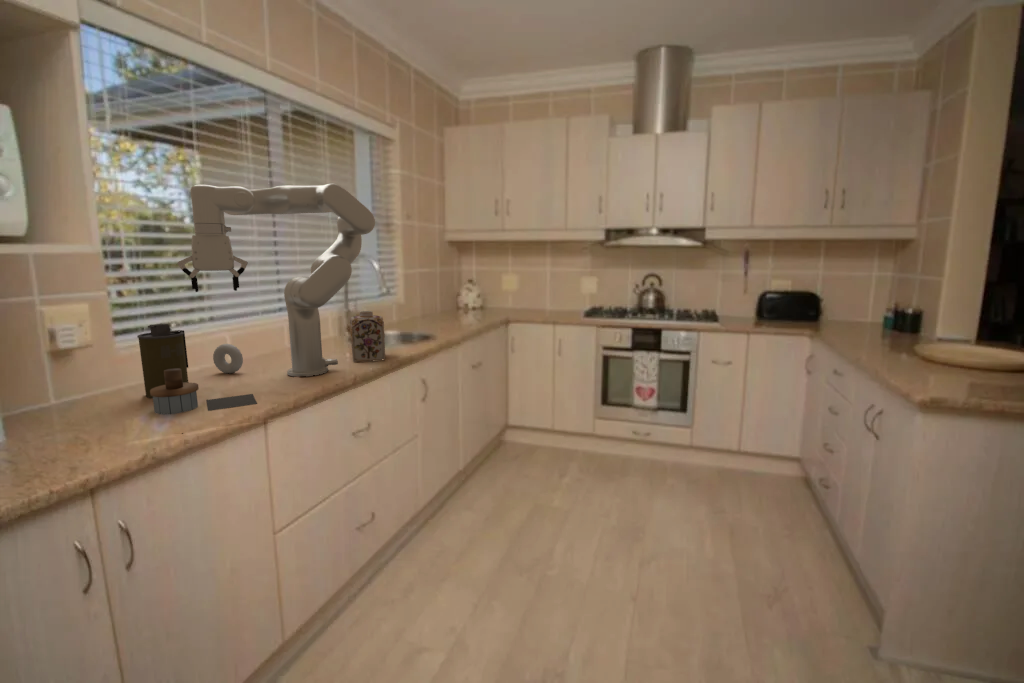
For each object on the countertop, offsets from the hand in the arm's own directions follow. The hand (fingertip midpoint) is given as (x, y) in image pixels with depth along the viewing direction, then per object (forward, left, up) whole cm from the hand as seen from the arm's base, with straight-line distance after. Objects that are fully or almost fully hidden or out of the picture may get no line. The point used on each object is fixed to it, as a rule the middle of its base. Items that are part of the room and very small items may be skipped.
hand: (216, 291), depth 143 cm
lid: (+12, +21, -23) cm, 34 cm away
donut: (-2, -17, -28) cm, 33 cm away
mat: (0, +22, -28) cm, 36 cm away
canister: (+14, +3, -28) cm, 32 cm away
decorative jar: (-48, -16, -29) cm, 58 cm away
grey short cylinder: (+12, +21, -28) cm, 37 cm away
